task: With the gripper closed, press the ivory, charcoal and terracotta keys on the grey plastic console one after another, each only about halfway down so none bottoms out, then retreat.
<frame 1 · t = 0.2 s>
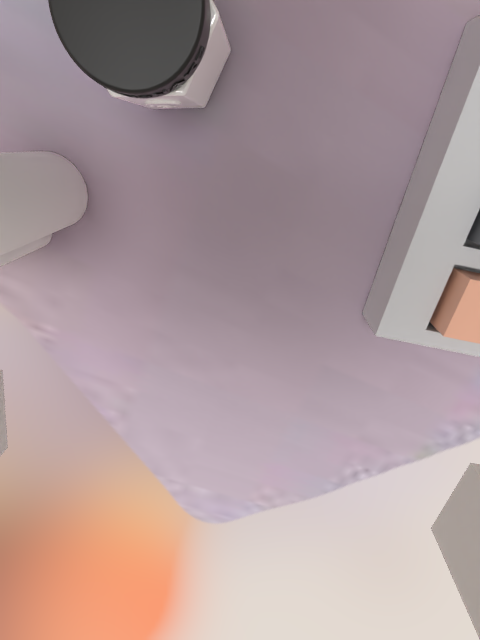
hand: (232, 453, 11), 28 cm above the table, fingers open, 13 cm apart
candle: (34, 204, 36), on the table
jar: (174, 52, 31), on the table
terracotta key: (477, 307, 32), point 5 cm above the table, slide at 0.0 cm
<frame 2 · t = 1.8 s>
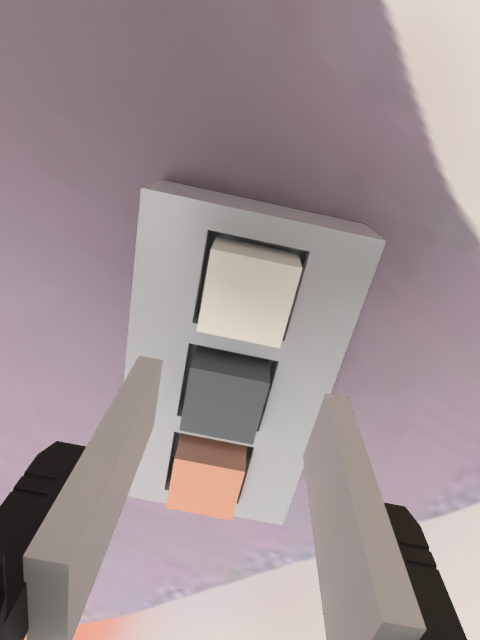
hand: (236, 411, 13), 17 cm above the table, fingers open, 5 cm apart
charcoal key: (225, 394, 26), point 5 cm above the table, slide at 0.0 cm
console: (230, 353, 31), on the table
terracotta key: (206, 474, 29), point 5 cm above the table, slide at 0.0 cm
ivory key: (248, 291, 23), point 6 cm above the table, slide at 0.0 cm
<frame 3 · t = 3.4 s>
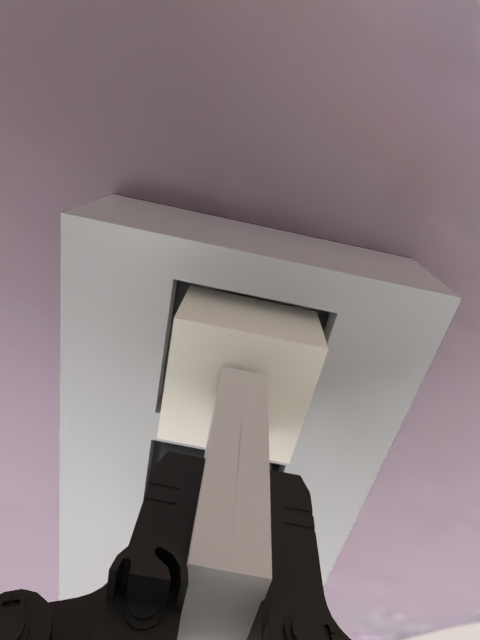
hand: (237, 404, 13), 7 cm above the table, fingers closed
charcoal key: (206, 509, 18), point 5 cm above the table, slide at 0.0 cm
console: (218, 428, 23), on the table
ivory key: (238, 373, 15), point 5 cm above the table, slide at 0.0 cm, touching gripper
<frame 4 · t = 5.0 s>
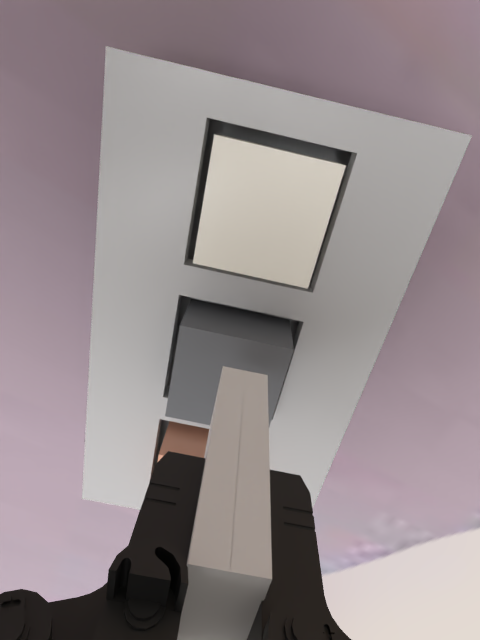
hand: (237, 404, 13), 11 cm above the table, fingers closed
charcoal key: (228, 367, 19), point 5 cm above the table, slide at 0.0 cm
console: (235, 319, 24), on the table
terracotta key: (202, 475, 22), point 5 cm above the table, slide at 0.0 cm
ivory key: (264, 210, 17), point 5 cm above the table, slide at 1.0 cm
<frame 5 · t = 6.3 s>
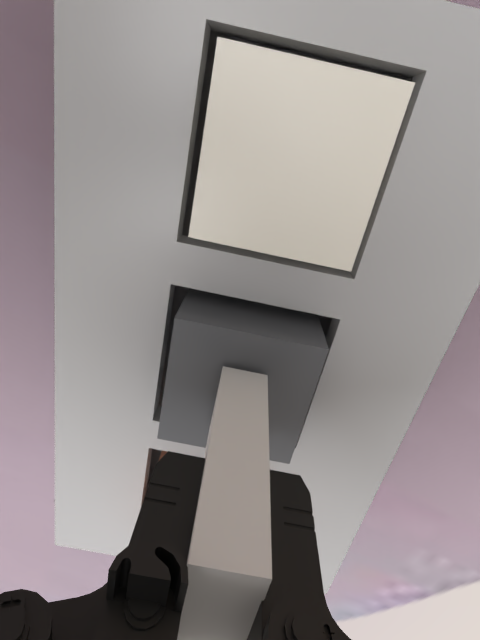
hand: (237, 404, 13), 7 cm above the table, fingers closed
charcoal key: (239, 373, 15), point 5 cm above the table, slide at 0.5 cm, touching gripper
console: (244, 318, 19), on the table
terracotta key: (205, 518, 17), point 5 cm above the table, slide at 0.0 cm
ivory key: (288, 163, 12), point 5 cm above the table, slide at 1.0 cm
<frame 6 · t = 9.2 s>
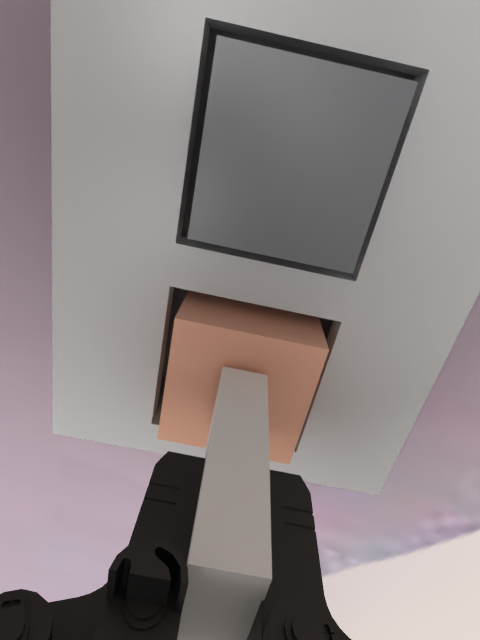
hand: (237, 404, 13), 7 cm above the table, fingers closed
charcoal key: (288, 164, 12), point 5 cm above the table, slide at 1.0 cm
console: (281, 158, 16), on the table
terracotta key: (239, 373, 15), point 5 cm above the table, slide at 0.7 cm, touching gripper
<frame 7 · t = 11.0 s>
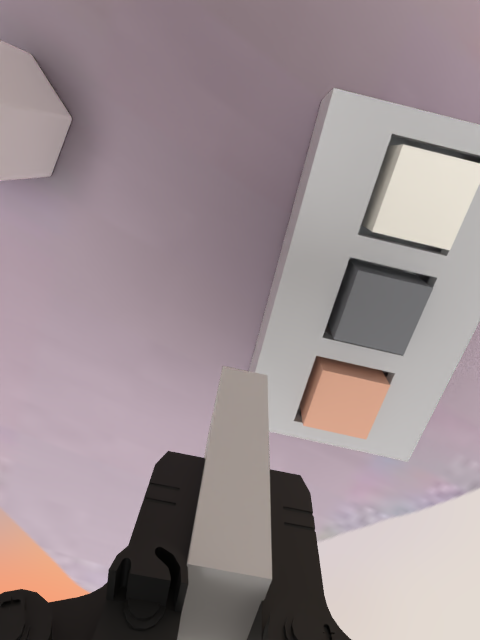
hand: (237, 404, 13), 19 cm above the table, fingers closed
jar: (14, 118, 28), on the table
charcoal key: (375, 306, 27), point 5 cm above the table, slide at 1.0 cm
console: (360, 286, 31), on the table
terracotta key: (341, 394, 30), point 5 cm above the table, slide at 1.0 cm
ivory key: (418, 197, 24), point 5 cm above the table, slide at 1.0 cm
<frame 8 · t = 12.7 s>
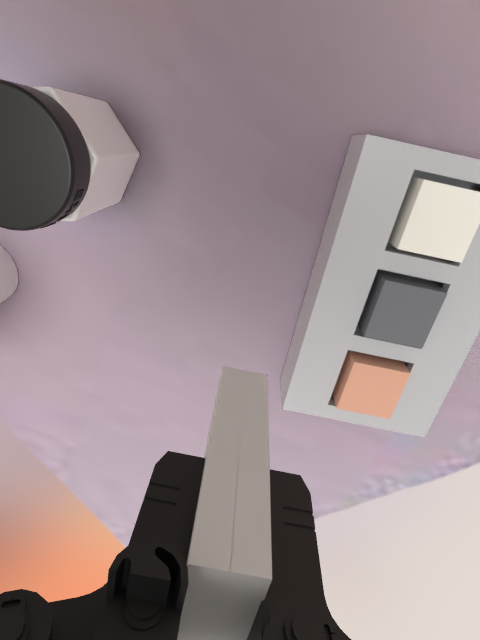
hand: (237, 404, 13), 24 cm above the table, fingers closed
jar: (89, 154, 33), on the table
charcoal key: (398, 308, 32), point 5 cm above the table, slide at 1.0 cm
console: (383, 289, 37), on the table
terracotta key: (368, 382, 36), point 5 cm above the table, slide at 1.0 cm
ivory key: (435, 219, 29), point 5 cm above the table, slide at 1.0 cm
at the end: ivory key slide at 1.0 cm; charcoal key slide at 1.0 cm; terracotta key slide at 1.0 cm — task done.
